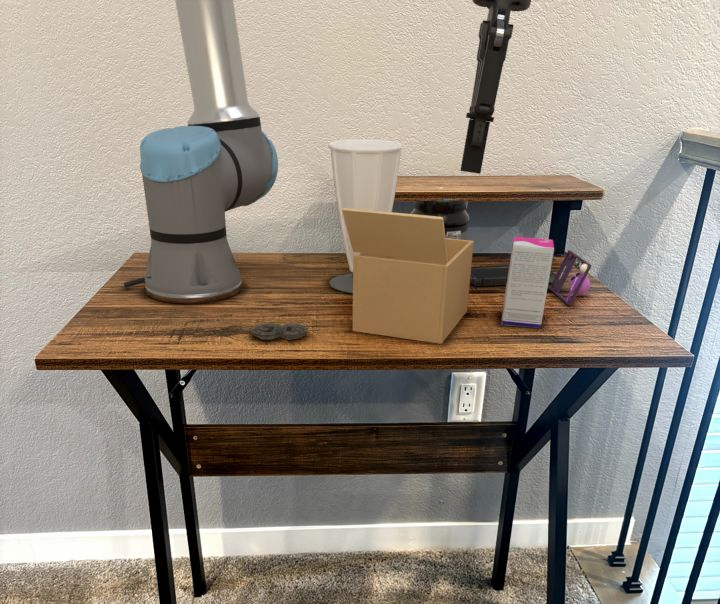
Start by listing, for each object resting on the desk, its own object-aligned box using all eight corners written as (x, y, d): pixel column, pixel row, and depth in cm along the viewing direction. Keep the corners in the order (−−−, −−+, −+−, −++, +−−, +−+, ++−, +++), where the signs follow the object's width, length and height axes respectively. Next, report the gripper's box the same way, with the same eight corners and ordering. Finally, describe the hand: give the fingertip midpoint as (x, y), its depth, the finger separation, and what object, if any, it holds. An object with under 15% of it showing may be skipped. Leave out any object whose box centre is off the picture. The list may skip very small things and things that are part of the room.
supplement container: (420, 254, 140) (424, 187, 134) (472, 261, 136) (479, 193, 130) (398, 267, 132) (401, 197, 125) (453, 275, 128) (459, 203, 122)
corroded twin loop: (306, 342, 98) (306, 335, 98) (247, 341, 98) (247, 334, 98) (309, 329, 103) (309, 322, 102) (252, 328, 103) (252, 321, 102)
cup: (343, 271, 129) (343, 137, 118) (405, 278, 126) (412, 141, 114) (318, 289, 119) (316, 145, 108) (385, 297, 116) (390, 150, 105)
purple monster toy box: (564, 248, 118) (585, 263, 111) (591, 258, 120) (614, 274, 112) (545, 287, 121) (564, 304, 114) (571, 296, 123) (592, 314, 115)
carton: (441, 344, 99) (447, 266, 94) (352, 331, 103) (353, 255, 98) (467, 311, 111) (473, 240, 106) (386, 300, 115) (388, 232, 110)
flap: (447, 260, 93) (447, 262, 93) (354, 249, 97) (353, 252, 97) (443, 216, 87) (442, 219, 87) (342, 207, 91) (341, 209, 91)
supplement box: (542, 328, 105) (554, 247, 99) (500, 325, 106) (510, 244, 100) (541, 315, 110) (553, 238, 104) (502, 312, 111) (511, 235, 105)
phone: (460, 267, 128) (540, 263, 131) (459, 273, 128) (539, 270, 131) (474, 279, 121) (558, 275, 124) (474, 286, 122) (557, 282, 125)
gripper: (545, -37, 85) (502, 178, 96) (528, -17, 97) (491, 173, 107) (482, -47, 85) (446, 170, 96) (472, -25, 97) (441, 166, 107)
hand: (470, 171), depth 102 cm, fingers closed
